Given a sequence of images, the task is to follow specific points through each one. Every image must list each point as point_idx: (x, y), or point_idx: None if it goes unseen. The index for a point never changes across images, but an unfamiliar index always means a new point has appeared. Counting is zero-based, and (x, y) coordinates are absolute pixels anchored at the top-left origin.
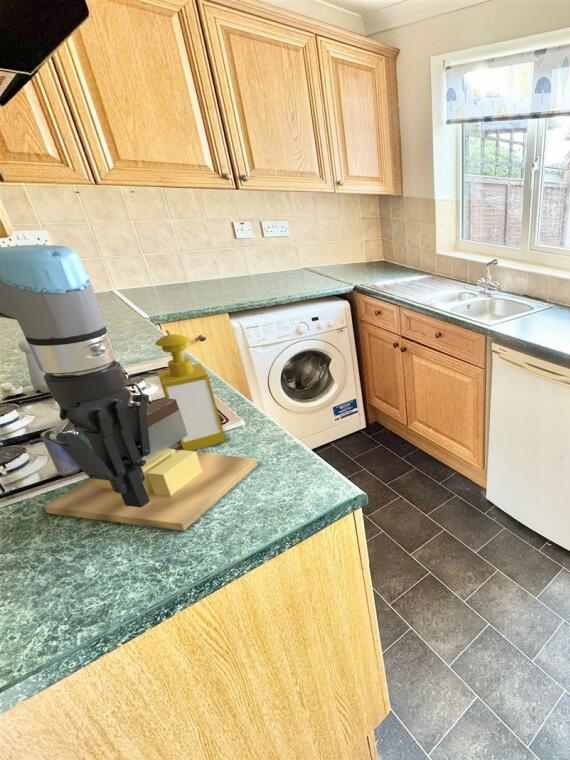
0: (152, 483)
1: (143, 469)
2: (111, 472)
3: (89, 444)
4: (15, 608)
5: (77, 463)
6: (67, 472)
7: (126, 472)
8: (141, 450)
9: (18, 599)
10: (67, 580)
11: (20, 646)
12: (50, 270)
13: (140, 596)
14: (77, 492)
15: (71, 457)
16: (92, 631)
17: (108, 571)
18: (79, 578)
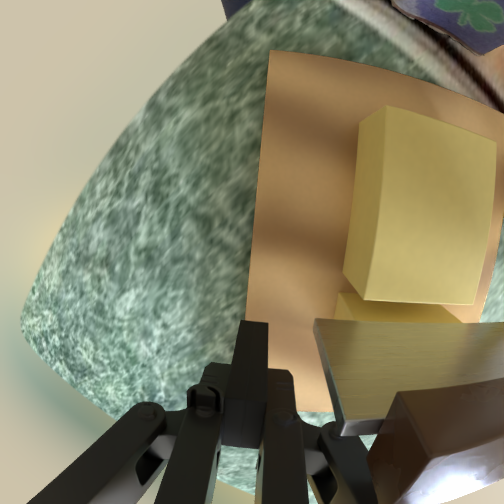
0: (346, 312)
1: (377, 299)
2: (165, 464)
3: (473, 16)
4: (55, 249)
5: (78, 462)
6: (399, 6)
7: (228, 439)
8: (311, 481)
9: (65, 237)
10: (103, 281)
11: (31, 310)
12: None
13: (111, 399)
14: (331, 81)
15: (51, 485)
16: (64, 374)
17: (131, 333)
18: (110, 298)
